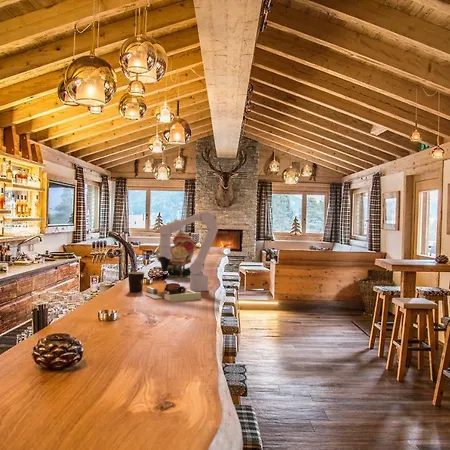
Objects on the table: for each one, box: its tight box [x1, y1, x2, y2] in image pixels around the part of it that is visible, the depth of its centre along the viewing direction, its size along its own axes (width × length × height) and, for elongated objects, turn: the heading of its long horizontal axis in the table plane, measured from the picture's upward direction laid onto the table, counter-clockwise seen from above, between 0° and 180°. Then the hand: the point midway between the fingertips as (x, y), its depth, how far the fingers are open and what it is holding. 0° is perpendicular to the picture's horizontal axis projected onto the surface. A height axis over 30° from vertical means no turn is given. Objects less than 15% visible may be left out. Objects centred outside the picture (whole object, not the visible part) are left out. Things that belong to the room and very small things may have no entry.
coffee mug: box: [127, 271, 145, 294], centre depth 237 cm, size 12×9×10 cm
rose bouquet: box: [154, 230, 198, 279], centre depth 298 cm, size 26×29×30 cm
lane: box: [145, 286, 202, 303], centre depth 229 cm, size 24×31×3 cm
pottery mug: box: [163, 282, 186, 295], centre depth 223 cm, size 12×10×8 cm
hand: (164, 270), depth 247 cm, fingers closed
